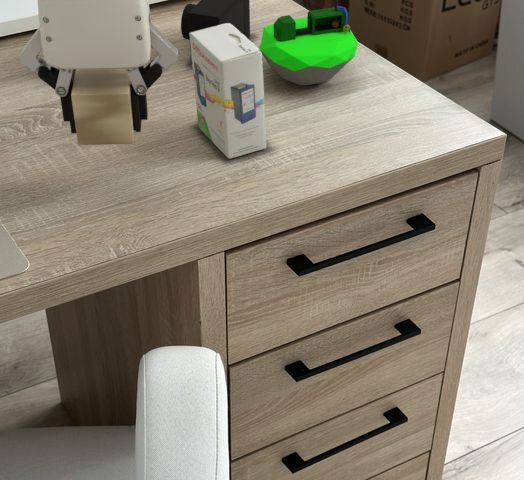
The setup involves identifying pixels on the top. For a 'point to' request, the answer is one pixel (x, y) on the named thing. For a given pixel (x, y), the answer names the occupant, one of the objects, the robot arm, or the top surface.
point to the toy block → (102, 107)
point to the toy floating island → (309, 45)
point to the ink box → (229, 89)
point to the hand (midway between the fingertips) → (106, 124)
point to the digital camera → (215, 16)
